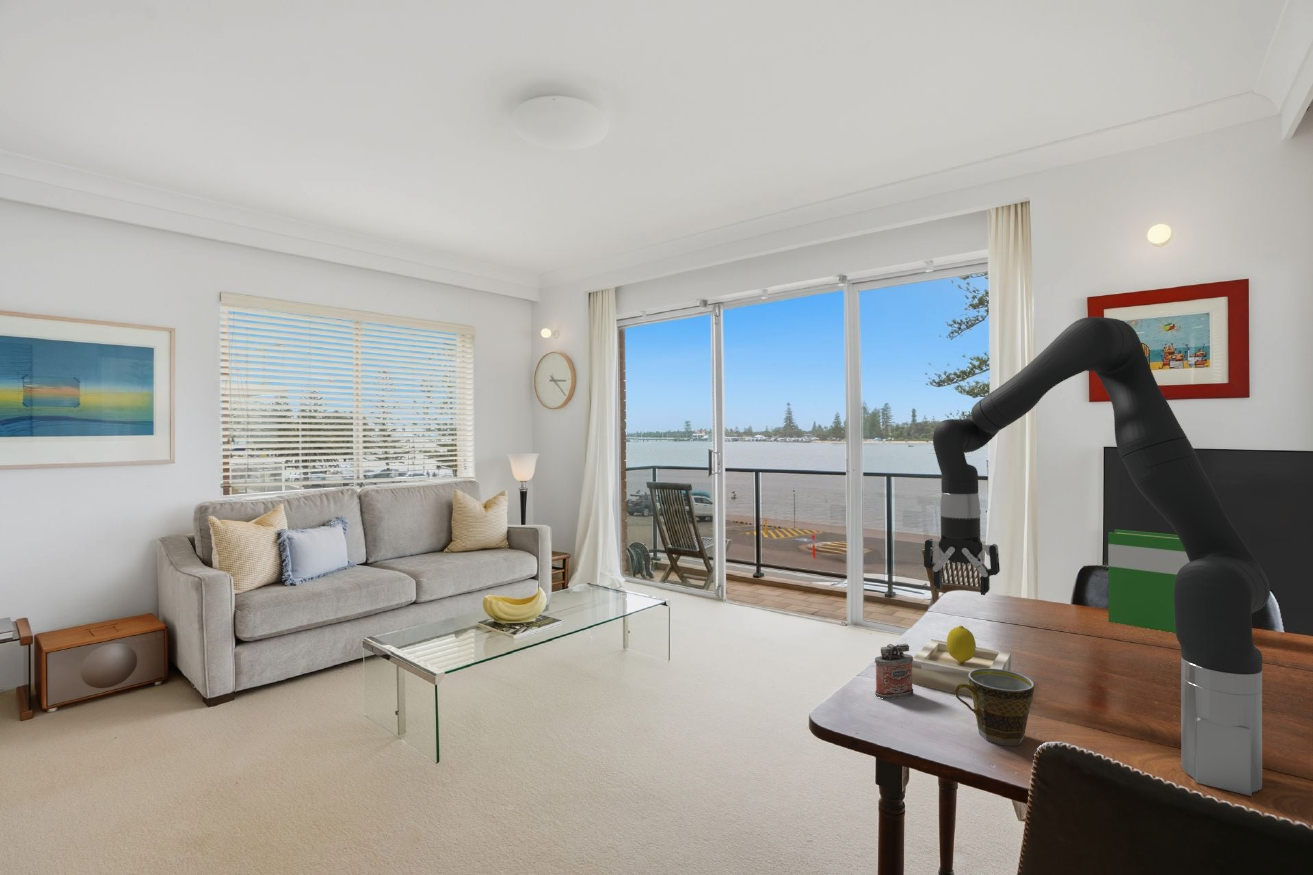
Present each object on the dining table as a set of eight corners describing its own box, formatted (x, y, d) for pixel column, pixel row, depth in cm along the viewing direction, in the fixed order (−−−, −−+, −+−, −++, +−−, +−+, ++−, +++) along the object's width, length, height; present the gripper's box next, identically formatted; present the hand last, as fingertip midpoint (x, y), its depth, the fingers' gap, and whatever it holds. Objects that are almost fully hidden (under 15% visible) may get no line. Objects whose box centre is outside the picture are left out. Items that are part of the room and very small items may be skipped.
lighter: (881, 701, 127) (881, 649, 126) (871, 694, 130) (871, 644, 130) (917, 695, 129) (916, 645, 129) (906, 689, 132) (905, 640, 132)
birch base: (997, 705, 125) (997, 676, 125) (911, 686, 135) (911, 659, 135) (1011, 678, 138) (1010, 653, 138) (931, 663, 148) (931, 639, 148)
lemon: (979, 669, 133) (978, 630, 133) (950, 667, 134) (949, 629, 134) (971, 659, 139) (971, 622, 139) (944, 658, 140) (943, 621, 140)
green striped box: (1108, 621, 174) (1108, 532, 174) (1115, 616, 180) (1115, 529, 179) (1192, 636, 162) (1192, 540, 161) (1197, 630, 167) (1197, 536, 166)
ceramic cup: (1012, 722, 117) (1012, 667, 116) (1048, 750, 107) (1047, 690, 106) (941, 724, 116) (941, 669, 116) (970, 753, 106) (969, 692, 106)
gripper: (919, 514, 137) (920, 590, 138) (994, 518, 129) (995, 600, 129) (929, 510, 143) (930, 583, 144) (1001, 514, 135) (1002, 592, 135)
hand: (961, 591), depth 136 cm, fingers open, 8 cm apart
